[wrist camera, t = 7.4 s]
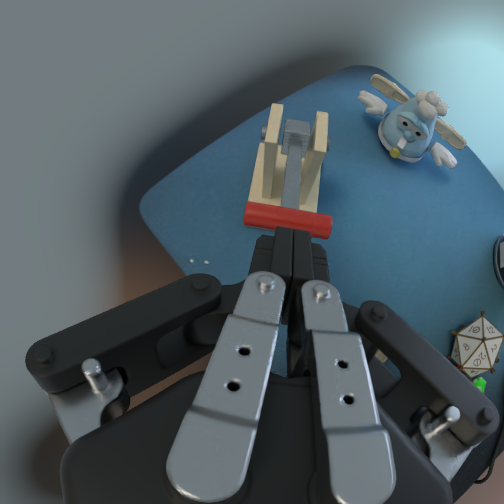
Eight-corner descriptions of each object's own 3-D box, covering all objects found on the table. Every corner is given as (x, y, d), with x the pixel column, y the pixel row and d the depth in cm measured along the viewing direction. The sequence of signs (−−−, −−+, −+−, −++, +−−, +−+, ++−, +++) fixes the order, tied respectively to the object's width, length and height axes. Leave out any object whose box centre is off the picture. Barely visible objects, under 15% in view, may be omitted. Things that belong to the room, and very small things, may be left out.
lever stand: (311, 237, 33) (342, 192, 21) (244, 226, 34) (237, 173, 21) (320, 158, 36) (344, 92, 23) (259, 147, 36) (261, 77, 23)
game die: (447, 356, 33) (474, 405, 24) (424, 334, 31) (456, 390, 22) (490, 315, 30) (524, 358, 21) (473, 285, 28) (516, 333, 19)
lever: (324, 250, 17) (335, 221, 15) (242, 235, 17) (244, 205, 15) (320, 147, 26) (325, 125, 24) (268, 138, 26) (270, 115, 24)
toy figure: (332, 135, 36) (362, 55, 22) (363, 98, 38) (392, 28, 24) (428, 207, 34) (494, 156, 19) (447, 161, 36) (500, 109, 21)
